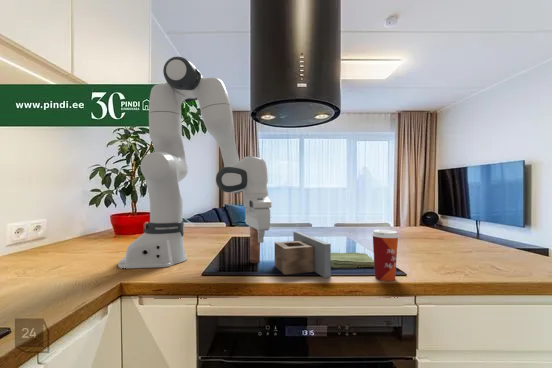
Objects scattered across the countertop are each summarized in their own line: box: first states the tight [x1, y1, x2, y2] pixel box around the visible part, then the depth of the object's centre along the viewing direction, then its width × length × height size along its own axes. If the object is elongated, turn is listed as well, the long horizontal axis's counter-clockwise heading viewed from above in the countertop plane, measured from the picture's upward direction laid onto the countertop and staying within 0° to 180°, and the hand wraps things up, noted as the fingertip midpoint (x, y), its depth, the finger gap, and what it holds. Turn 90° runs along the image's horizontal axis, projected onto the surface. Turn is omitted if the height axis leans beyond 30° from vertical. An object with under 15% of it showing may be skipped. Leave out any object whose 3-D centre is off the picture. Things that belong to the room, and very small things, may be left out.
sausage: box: [249, 228, 261, 264], centre depth 104 cm, size 4×4×12 cm
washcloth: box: [331, 252, 374, 269], centre depth 103 cm, size 13×18×3 cm
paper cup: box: [371, 229, 400, 282], centre depth 87 cm, size 8×8×14 cm
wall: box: [292, 230, 332, 279], centre depth 98 cm, size 2×24×10 cm, turn 19°
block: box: [274, 240, 315, 275], centre depth 96 cm, size 10×10×8 cm
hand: (256, 240), depth 104 cm, fingers open, 8 cm apart
